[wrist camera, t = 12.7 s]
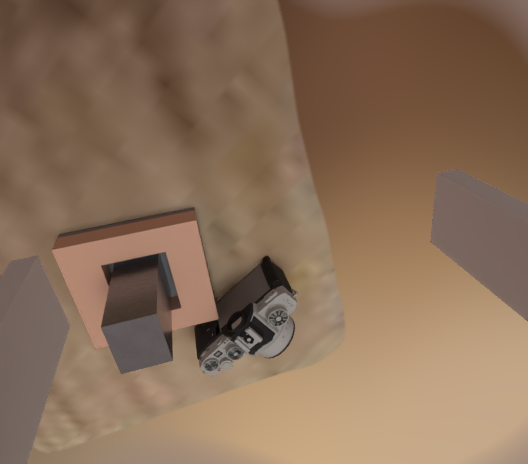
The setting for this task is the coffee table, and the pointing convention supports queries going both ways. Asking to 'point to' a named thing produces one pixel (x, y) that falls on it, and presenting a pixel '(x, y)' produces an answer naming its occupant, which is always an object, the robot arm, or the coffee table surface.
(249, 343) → the camera
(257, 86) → the coffee table surface
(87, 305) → the pink square frame
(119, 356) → the grey wood-topped pillar
